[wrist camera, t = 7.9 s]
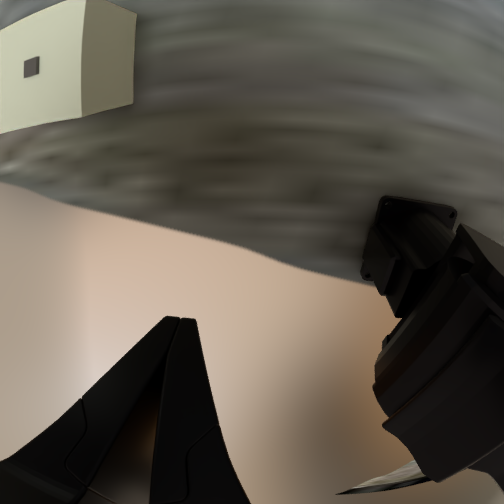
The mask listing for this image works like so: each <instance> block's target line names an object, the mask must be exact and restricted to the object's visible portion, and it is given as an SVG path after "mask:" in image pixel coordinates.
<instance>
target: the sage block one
mask: <svg viewBox="0 0 504 504" xmlns="http://www.w3.org/2000/svg"><path fill="white" fill-rule="evenodd" d="M136 19H137V14H136V13H134V12H132V11H129V10H127V9H125V8H122V7H120V6H118V5H115V4H113V3H110V2H108V1H105V0H67V1H64V2H61V3H58V4H56V5H53V6H51V7H48V8H46V9H44V10H41V11H39V12H37V13H34V14H32V15H30V16H28V17H26V18H24V19H22V20H20V21H18V22H16V23H14V24H12V25H10V26H8V27H6V28H4V29H2V30H0V134H1V133H5V132H9V131H13V130H17V129H21V128H26V127H30V126H35V125H40V124H45V123H50V122H55V121H61V120H67V119H73V118H80V117H84V116H88V115H91V114H95V113H98V112H102V111H106V110H110V109H114V108H118V107H122V106H126V105H130V104H133V75H134V48H135V31H136Z"/></svg>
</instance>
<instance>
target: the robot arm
mask: <svg viewBox="0 0 504 504" xmlns="http://www.w3.org/2000/svg"><path fill="white" fill-rule="evenodd" d="M389 201H390V204H389V205H388V206H385V204H386V202H389ZM451 212H452V214H451V215H450V216H449V214H450V213H451ZM456 217H457V211H456V210H455V209H454V208H453V207H451V206H446V205H441V204H435V203H430V202H424V201H418V200H412V199H406V198H400V197H393V196H384V197H382V198H381V200H380V203H379V207H378V211H377V215H376V219H375V223H374V225H372V226H371V228H370V232H369V235H368V239H367V243H366V247H365V250H364V254H363V260H364V262H363V266H362V269H361V276H362V278H363V279H364V280H366V281H374V283H375V286H376V288H377V290H378V292H379V294H380V295H381V296H386V298H387V300H388V302H389V305H390V306H391V309H392V311H393V313H394V316H395V317H396V318H402V319H401V320H400V322H399V323H398V324H397V326H396V327H395V328H394V329H393V331H392V332H391V333H390V335H387V336H386V337H385V339H384V340H383V341H382V351H381V352H380V354H379V355H378V358H377V360H376V363H375V383H374V384H373V391H374V394H375V396H376V399H377V401H378V403H379V405H380V406H381V408H382V410H383V411H384V413H385V414H386V415H387V416H388V417H389V418H388V419H387V420H386V421H384V422H383V424H382V427H383V428H384V429H385V430H387V431H388V432H390V433H391V434H393V435H394V436H396V437H397V438H398V439H399V440H400V441H401V442H402V443H403V444H404V445H405V446H406V447H407V448H408V450H409V451H410V453H411V454H412V455H413V457H414V459H415V461H416V462H417V464H418V466H419V468H420V469H421V471H422V473H423V474H424V475H426V476H427V477H429V478H430V479H432V480H433V481H435V482H437V483H438V482H442V481H443V480H446V479H447V478H449V477H451V476H453V475H455V474H457V473H458V472H460V471H462V470H464V469H465V468H468V469H472V470H476V471H481V472H485V473H487V474H488V475H489V476H490V477H491V478H492V479H493V480H494V481H495V483H496V484H497V485H498V487H499V488H500V489H501V491H502V492H503V494H504V247H503V246H501V245H500V244H498V243H496V242H495V241H493V240H491V239H489V238H488V237H486V236H484V235H482V234H481V233H479V232H477V231H475V230H473V229H472V228H470V227H468V226H466V225H464V224H462V223H460V225H459V226H458V228H457V230H456V233H457V234H456V235H455V234H454V232H453V231H452V229H453V226H454V223H455V220H456ZM368 272H369V274H367V275H365V274H366V273H368ZM0 504H251V503H250V501H249V499H248V497H247V495H246V493H245V491H244V489H243V487H242V485H241V483H240V481H239V479H238V477H237V474H236V472H235V470H234V468H233V465H232V463H231V460H230V458H229V455H228V452H227V449H226V445H225V442H224V439H223V436H222V432H221V428H220V426H219V421H218V416H217V412H216V408H215V404H214V400H213V396H212V392H211V387H210V383H209V379H208V374H207V370H206V365H205V361H204V356H203V351H202V346H201V342H200V336H199V331H198V327H197V322H196V319H191V318H181V319H180V318H179V317H173V316H165V317H164V318H163V319H162V320H161V321H160V322H159V323H157V324H156V325H155V326H154V327H153V328H152V329H151V330H150V331H149V332H148V333H147V334H146V335H145V336H144V337H143V338H142V339H141V340H140V341H139V342H138V343H137V344H136V345H134V346H133V347H132V349H130V350H129V351H128V352H127V353H126V354H125V355H124V356H123V357H122V358H121V359H120V360H119V361H118V362H117V363H116V364H115V365H114V366H113V367H112V368H111V369H110V370H109V371H108V372H107V373H106V374H104V376H102V377H101V378H100V379H99V380H98V381H97V382H96V383H95V384H94V385H93V386H92V387H91V388H90V389H89V390H88V391H87V392H86V393H85V394H84V395H83V396H82V399H81V398H80V399H79V400H78V401H77V402H76V403H75V404H74V405H73V406H72V407H71V408H70V409H68V410H67V411H66V412H65V413H64V414H63V415H62V416H61V417H60V418H59V419H58V420H56V421H55V422H54V423H53V424H52V425H50V426H49V427H48V428H47V429H46V430H44V431H43V432H42V433H41V434H39V435H38V436H37V437H35V438H34V439H33V440H31V441H30V442H29V443H27V444H26V445H25V446H24V447H22V448H21V449H20V450H18V451H17V452H16V453H14V454H13V455H12V456H10V457H9V458H7V459H4V460H2V461H0Z"/></svg>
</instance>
